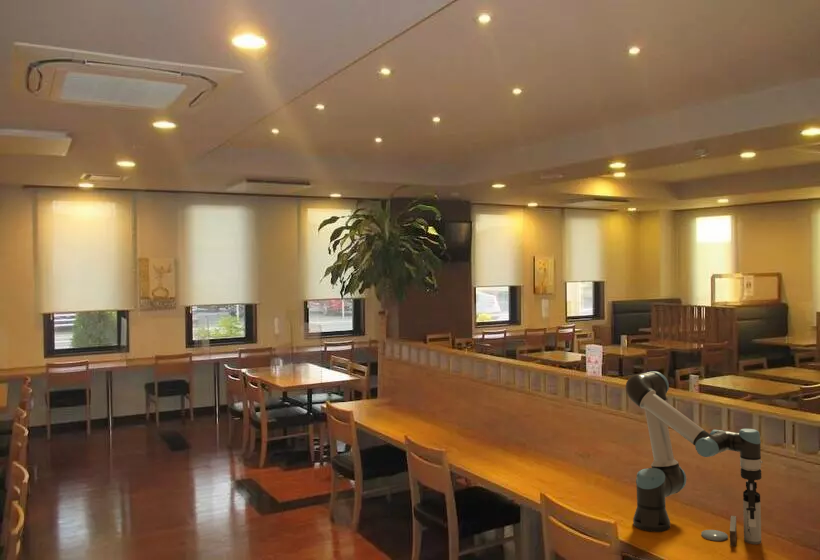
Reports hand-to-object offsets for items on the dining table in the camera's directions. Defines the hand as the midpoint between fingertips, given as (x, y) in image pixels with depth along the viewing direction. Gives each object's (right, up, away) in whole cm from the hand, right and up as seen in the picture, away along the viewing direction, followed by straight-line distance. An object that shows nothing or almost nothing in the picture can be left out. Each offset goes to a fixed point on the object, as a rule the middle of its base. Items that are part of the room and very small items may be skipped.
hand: (752, 520), depth 278 cm
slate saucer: (-12, -9, +6) cm, 16 cm away
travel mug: (0, -9, 0) cm, 9 cm away
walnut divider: (-6, -8, +4) cm, 11 cm away
